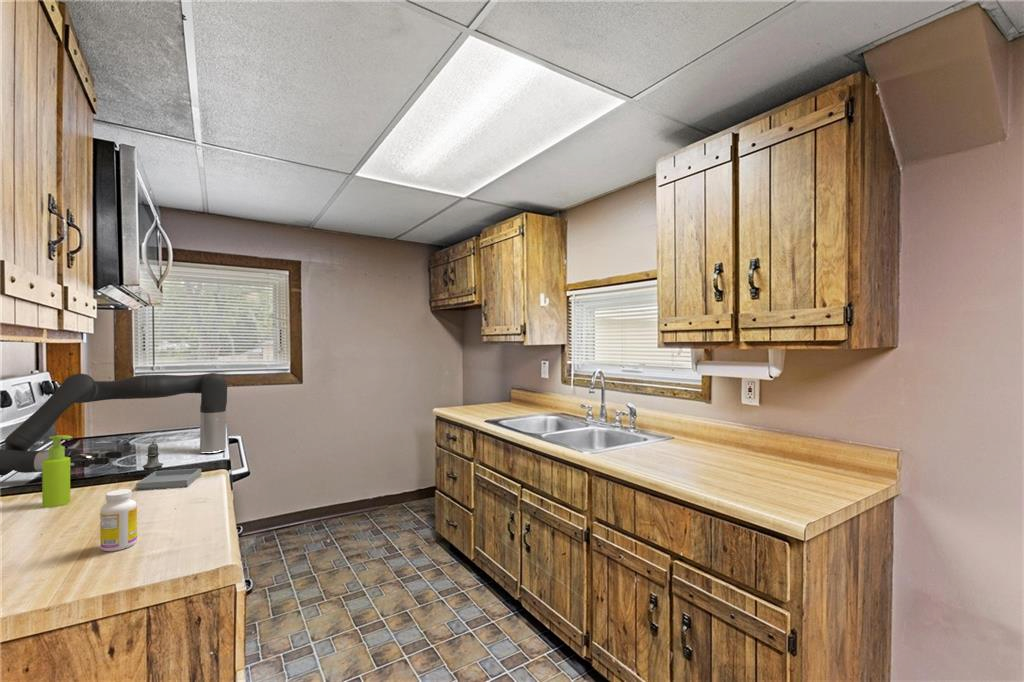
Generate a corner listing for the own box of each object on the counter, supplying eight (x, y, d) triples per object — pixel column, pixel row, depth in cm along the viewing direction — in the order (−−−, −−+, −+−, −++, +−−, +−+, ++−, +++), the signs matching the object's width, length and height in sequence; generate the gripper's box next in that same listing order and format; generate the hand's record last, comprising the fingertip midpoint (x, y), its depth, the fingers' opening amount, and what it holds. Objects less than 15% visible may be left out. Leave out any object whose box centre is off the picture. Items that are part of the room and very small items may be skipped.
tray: (154, 478, 164) (154, 471, 164) (201, 475, 168) (201, 468, 168) (136, 490, 151) (136, 483, 151) (187, 487, 155) (187, 479, 155)
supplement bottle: (132, 537, 117) (133, 485, 116) (140, 545, 112) (140, 491, 112) (97, 546, 111) (97, 492, 111) (103, 555, 107) (103, 498, 107)
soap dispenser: (60, 508, 135) (60, 438, 135) (36, 507, 135) (36, 437, 135) (79, 500, 141) (79, 433, 141) (56, 500, 141) (56, 433, 141)
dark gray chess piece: (151, 478, 164) (152, 443, 164) (137, 477, 165) (138, 442, 165) (167, 473, 170) (167, 440, 169) (153, 472, 171) (154, 439, 171)
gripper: (43, 454, 152) (104, 451, 157) (70, 444, 166) (125, 442, 171) (43, 477, 152) (104, 473, 157) (70, 465, 166) (125, 462, 171)
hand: (115, 457), depth 164 cm, fingers open, 8 cm apart
